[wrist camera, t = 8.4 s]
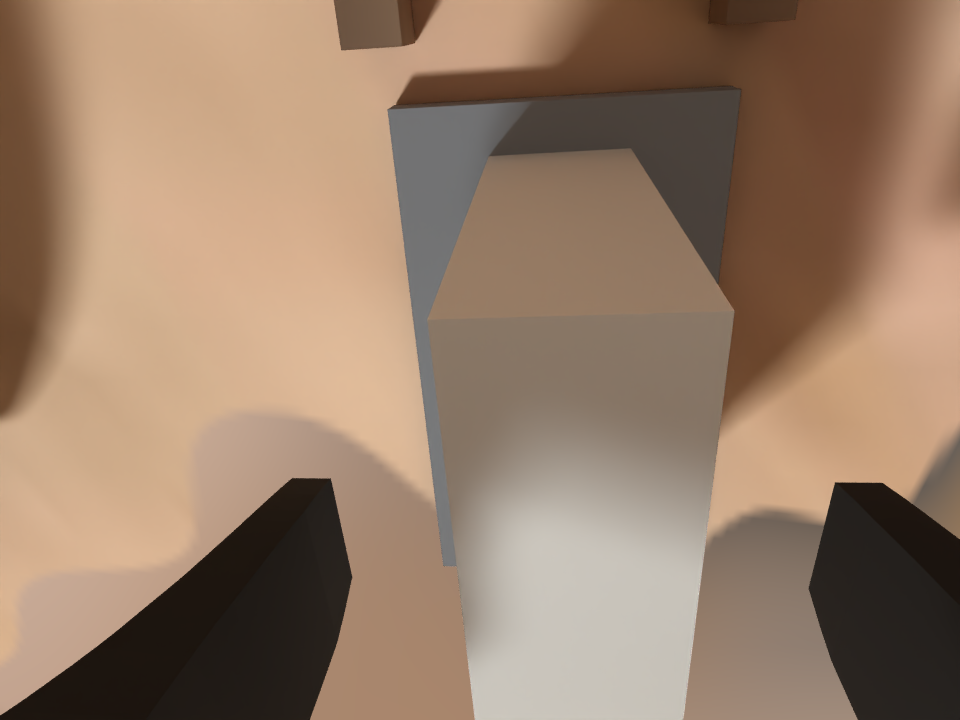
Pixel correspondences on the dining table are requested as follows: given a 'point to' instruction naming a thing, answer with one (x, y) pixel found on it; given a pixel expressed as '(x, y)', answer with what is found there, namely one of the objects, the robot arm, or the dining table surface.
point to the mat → (547, 129)
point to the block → (578, 436)
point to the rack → (389, 23)
